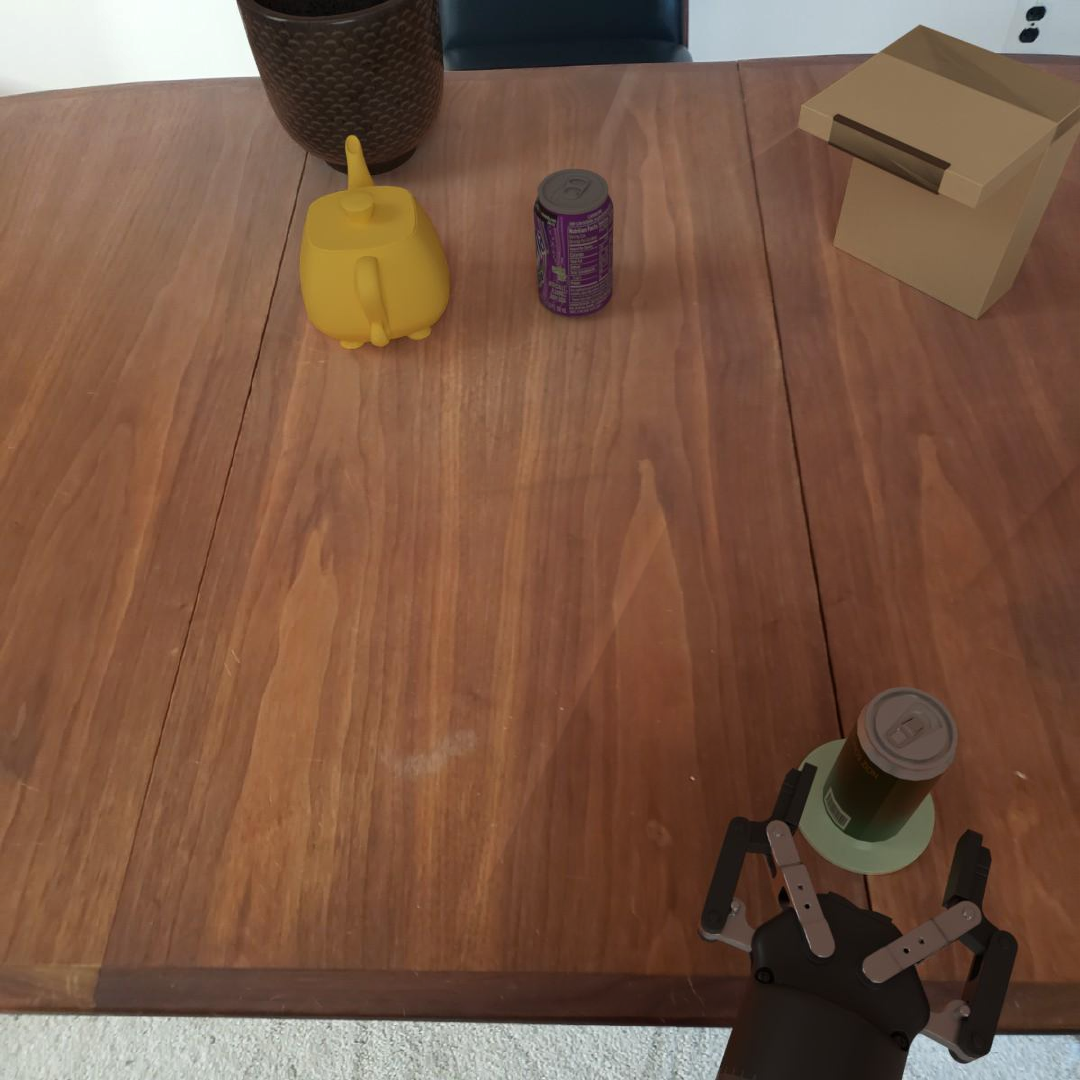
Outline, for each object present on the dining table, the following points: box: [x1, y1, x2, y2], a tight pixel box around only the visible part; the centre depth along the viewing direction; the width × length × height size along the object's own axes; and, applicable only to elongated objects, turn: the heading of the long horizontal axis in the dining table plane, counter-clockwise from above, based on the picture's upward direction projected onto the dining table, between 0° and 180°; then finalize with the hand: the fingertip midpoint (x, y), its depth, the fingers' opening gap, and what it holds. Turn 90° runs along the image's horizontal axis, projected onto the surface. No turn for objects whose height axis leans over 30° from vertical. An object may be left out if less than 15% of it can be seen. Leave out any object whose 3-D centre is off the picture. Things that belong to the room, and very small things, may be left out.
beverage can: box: [532, 168, 614, 318], centre depth 89 cm, size 7×7×12 cm
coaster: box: [797, 738, 936, 876], centre depth 63 cm, size 9×9×1 cm
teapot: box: [299, 135, 451, 350], centre depth 89 cm, size 14×20×13 cm
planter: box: [235, 0, 445, 176], centre depth 102 cm, size 20×20×19 cm
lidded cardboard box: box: [797, 24, 1080, 321], centre depth 85 cm, size 20×16×20 cm
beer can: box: [823, 686, 959, 843], centre depth 58 cm, size 5×5×12 cm
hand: (887, 801), depth 51 cm, fingers open, 8 cm apart
